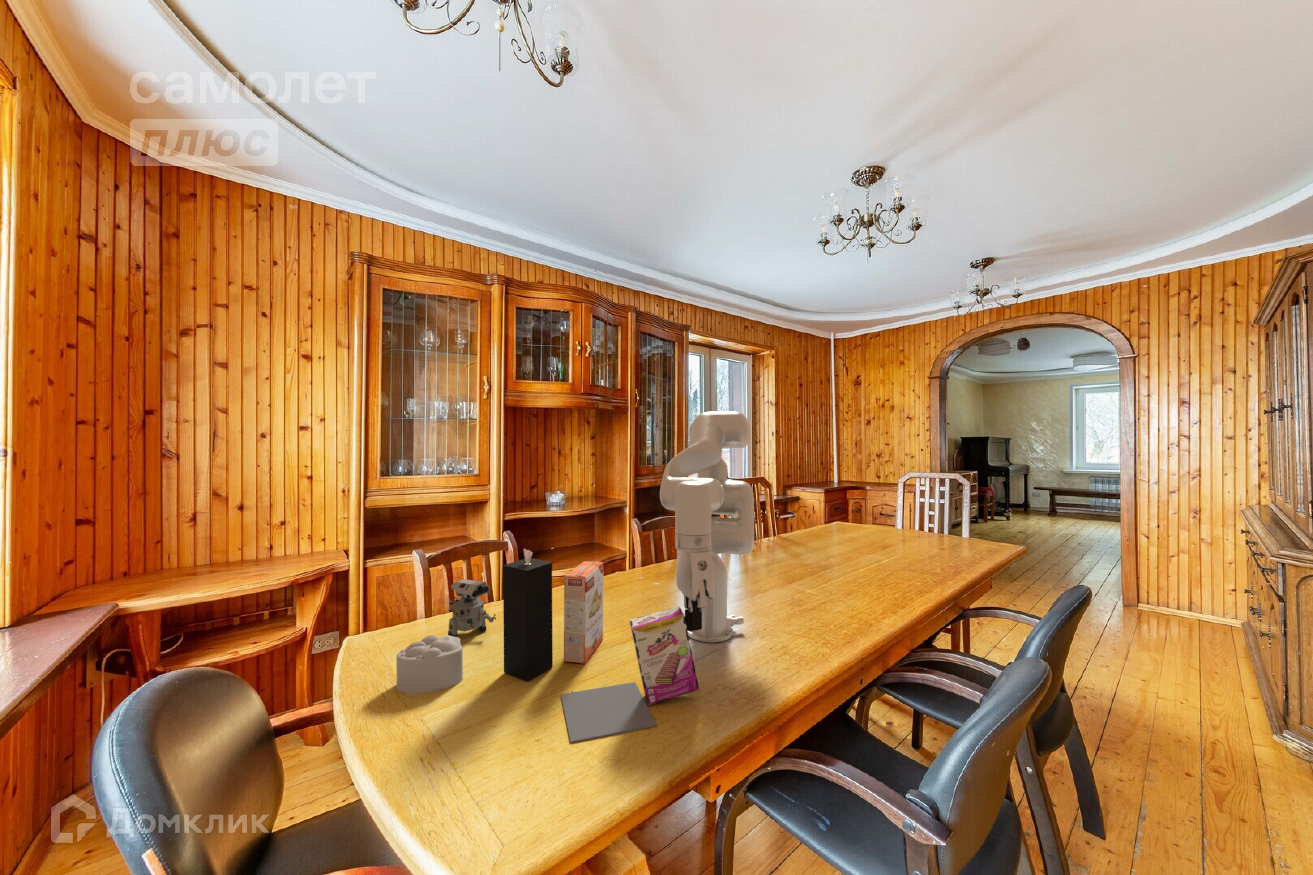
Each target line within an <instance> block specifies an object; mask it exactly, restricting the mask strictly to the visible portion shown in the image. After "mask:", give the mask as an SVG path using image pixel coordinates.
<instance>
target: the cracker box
mask: <svg viewBox="0 0 1313 875" xmlns="http://www.w3.org/2000/svg"><path fill="white" fill-rule="evenodd" d="M604 564H605V563H604V562H602V561H587V560H585V561H583V562H581V563H580V564H579V565H577V566H576V567H574V568H573V569H572V570H570V572H568V573H567V574H565V575H564V579H563V580H564V583H563V584H564V585H563V586H564V591H563V593H564V595H563V662H565V663H573V664H574V663H575V664H581V665H582V664H583V665H584V664H586V663H587V662H588V660H589V659H590V658H591V656H592V655H593V653H595V651H596V650H597V648H598V647H599V645H600V644H601V643H602V642H603V639H604V569H605V568H604Z"/></svg>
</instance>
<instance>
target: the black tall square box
mask: <svg viewBox="0 0 1313 875" xmlns="http://www.w3.org/2000/svg"><path fill="white" fill-rule="evenodd" d="M533 553H534V552H533V551H531V550H529V549H526V548H523V556H524V559H523V558H522V559H519V560H516V561H512V562H510V563H506V564H503V565H502V575H503V576H502V581H503V582H502V584H503V585H502V586H503V587H502V588H503V593H502V594H503V595H502V598H503V601H502V602H503V603H502V604H503V609H502V610H503V612H502V613H503V672H504V674H507V675H509V676H512V677H515V678H517V679H519V680H523V681H524V682H525V681H526V682H529V681H532V680H533V679H535V678H537V677H538V676H541V675H542V674H544V673H545V672H547V671H549V670H550V669H552V668H553V665H554V664H553V661H554V660H553V658H554V656H553V562H552V561H549V560H542V559H538V558H533Z"/></svg>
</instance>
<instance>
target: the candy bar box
mask: <svg viewBox="0 0 1313 875" xmlns="http://www.w3.org/2000/svg"><path fill="white" fill-rule="evenodd" d="M628 621H629V625H630V630H631V634H632V639H633V645H634V649H635V653H636V659H637V664H638V668H639V674H640V678H641V683H642V688H643V692H644V696H645V699H646V704H647V706H651V705H655V704H658V703H660V702H665V701H667V700H670V699H674V698H677V697H681V696H684V695H686V694H690V693H693V692H696V691H699V690H700V687H699V685H700V684H699V681H698V676H697V671H696V667H695V666H696V665H695V661H694V656H693V651H692V647H691V646H692V645H691V642H690V637H689V636H688V631H687V626H686V621H685V613H684V612H683V610H682V609H681V607H680V606H674V607H672V608H668V609H664V610H660V611H657V612H653V613H650V614H647V615H646V614H645V615H643V616H638V617H635V618H632V619H629V620H628Z"/></svg>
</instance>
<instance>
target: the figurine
mask: <svg viewBox="0 0 1313 875" xmlns="http://www.w3.org/2000/svg"><path fill="white" fill-rule="evenodd" d="M450 587H451V590H452V591H455V595H456V596H453V597H451V598H450V599H449V606H448V607H449V609H448V612H452V618H450V619H448V620H449V622H448V631H447V636H453V637H458V638H460V637H459V633H458V631H460V632H468V631H472V630H474V629H477V630H479V631H480V632H481V633H484V632H487V624H486V620H487V621H489V623H494V620H497V615H496V614H495V613H494V614H493V616H491V615H489V613H487V610H486V609H484V606H485V602H484V600H483V599H482V598H481V597H482V596H484V595H486V594H489V593H490V589H491V586H489V585H488V584H487V582H486V581H479V580H473V579H465V578H462V579H459V580H456V581H454V582H453V583H452V584H451V586H450ZM457 597H458V598H457ZM454 599H455V600H454Z"/></svg>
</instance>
